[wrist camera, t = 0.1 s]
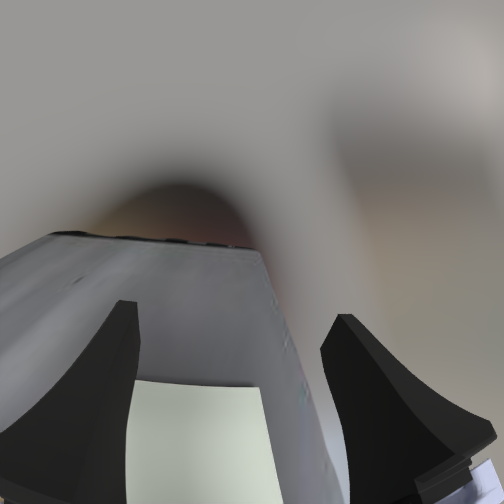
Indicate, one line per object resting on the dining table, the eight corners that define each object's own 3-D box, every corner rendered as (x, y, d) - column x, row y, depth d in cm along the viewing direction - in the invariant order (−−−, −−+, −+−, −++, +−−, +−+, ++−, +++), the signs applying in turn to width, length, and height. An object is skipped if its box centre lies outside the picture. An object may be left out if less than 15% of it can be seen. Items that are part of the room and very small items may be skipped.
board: (289, 556, 15) (294, 555, 14) (57, 540, 10) (51, 539, 10) (256, 394, 32) (258, 387, 31) (84, 379, 28) (81, 371, 27)
